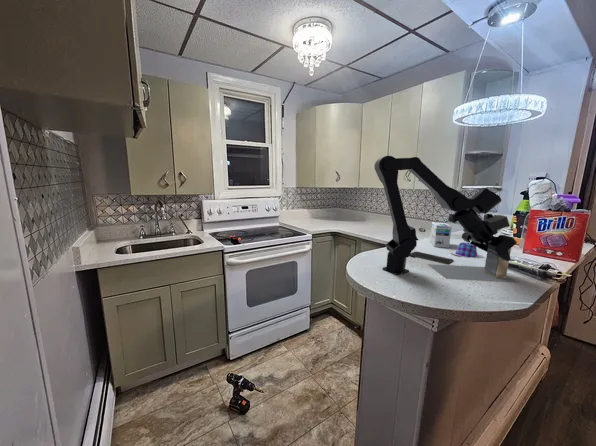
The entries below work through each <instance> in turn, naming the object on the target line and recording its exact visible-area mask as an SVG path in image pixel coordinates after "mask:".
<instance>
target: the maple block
mask: <svg viewBox="0 0 596 446" xmlns="http://www.w3.org/2000/svg"><path fill="white" fill-rule="evenodd" d="M489 251H490V250H489V249H488V250H487V252H486V257H485V263H484V264H485V265H484V267H485V269H484V271H485V272H486V273H488V274H490V275H492V276H494V277H496V278H506V276H508V268H509V263H510V262H509V261H510V260H509V261H506V260H504V259H502V258H500V257H498V256H496V255H495V254H493V253H491V252H489ZM508 252H509V255H510V256H511V252H512V247H511V248H510V249H509V250H508Z"/></svg>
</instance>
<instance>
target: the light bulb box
mask: <svg viewBox="0 0 596 446" xmlns="http://www.w3.org/2000/svg"><path fill="white" fill-rule="evenodd" d="M452 227H453V226H451V225H449V224H448V223H446V222H436V221H432V222H431V229H430V234H429V235H430V236H429V243H430V244H431V245H432V246H433V247H435V248H444V249H445V248H446V249H449V248H450V244H451V236H452V234H451V233H452Z"/></svg>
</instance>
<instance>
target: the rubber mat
mask: <svg viewBox="0 0 596 446" xmlns="http://www.w3.org/2000/svg"><path fill="white" fill-rule="evenodd" d="M427 266H429V267H430V268H431V269H433V270H435V272H437V273H438V274H440V276H442V277H443V278H444V279H446V280H461V281H462V280H463V281H480V282H483V281H484V282H497V283H500V282H502V283H520V281H517V280H516V279H513V278H512V277H509V276H508V275H506V278H496V277H494V276H492V275H490V274H488V273H486V272H485V271H484V269H485V266H475V265H474V266H473V265H452V264H433V263H432V264H431V263H427Z"/></svg>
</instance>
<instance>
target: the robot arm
mask: <svg viewBox="0 0 596 446" xmlns="http://www.w3.org/2000/svg"><path fill="white" fill-rule="evenodd" d="M373 166H374V171H375V173H376V175H377V177H378V179H379V181H380V182H381V184H382V186H383V189H384V192H385V198H386V201H387V204H388V208H389V212H390V217H391V221H392V225H393V226H392V231H391V232H392V239H391V240H388V242H387V243H386V244H385V248H386V251H388V253H387V258H386V266H384V267H382V270H384V271H387V272H389V273H392V274H394V275H402V274H405V273H406V274H407V273H409V272H410V270H409V269H407V268H406V264H407V258H409V255H410V254H411V253H412V251H414V250H415V249H416V247H417V243H418V241H419V239H418V237H417V230H416V227H415V228H414V227H413V226H412V225H409V224H408V222H407V217H406V213H405V209H404V205H403V200H402V197H401V192H400V189H399V185H398V178H399V171H409V173H411V174H412V175H413V176H415V177H416V178H417V179H418V180H419V181H420V182H421V183H422V184H423V185H424V186H425V187H426V188H427V189H428V190H430V192H432V194H433V195H434V197H435V199H436V201H437V203H438V204H439V205H440V206H441V208H443V209H444V210H447V211H452V212H454V213H449V214H448V218H447V221H448V222H449V223H451V224H456V223H458V224H460V226H461V227H462V228H463V229H462V231H463V233H462V234H461V238H462V240H464V242H465V243H470V244H472V245H474V246H476V248H478V249H480V250H482V251H483V252H486V253H487V250H488V249H489V250H490V251H489V252H491V253H493V254H495V255H496V256H498V257H500V258H502V259H504V260H506V261H511V259H512V258H511V254H510V255H509V252H508V250H509V249H510V248H511V249H512V248H513V247H514V246H515V245H517V243H518V242H517V240H516V239H515V237H513V236H511V235H506V234H499V235H498V236H495V235H497V234H498V233H499V230H501V229H502V230H503V229H504V228H509V227H511V226H510V222H509V219H508V216H506V215H500V214H494V215H493V213H488V212H490V211H492V209H494V208H495V207H496V206H498V205H499V204H501V203H502V198H501V196H500V195H499V194H497V193H495V192H494V191H492V190H490V189H489V188H488V187H482V188H480V189H479V190H478V191H477V192H476V193H475V194H474V195H473V196H471V197H467V196H466V195H465V194H463V193H462V192H460V191H459V190H457V189H456V188H455V189H454V188H453V187H451V186H449V185H447V184H446V183H445V181H443V180H442V179H441V178H440V177H438V176H437V174H435V172H433V171H432V170H431V169H430V168H429V167H428V166H427V165H425V164H424V162H423V161H422V160H421V158H419V156H412V157H399V158H396V157H394V156H392V155H385V156H382V157H379V158H378V159H377V160H376V161H375V163H374V165H373ZM480 214H483V219H482V218H481V217H480Z"/></svg>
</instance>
